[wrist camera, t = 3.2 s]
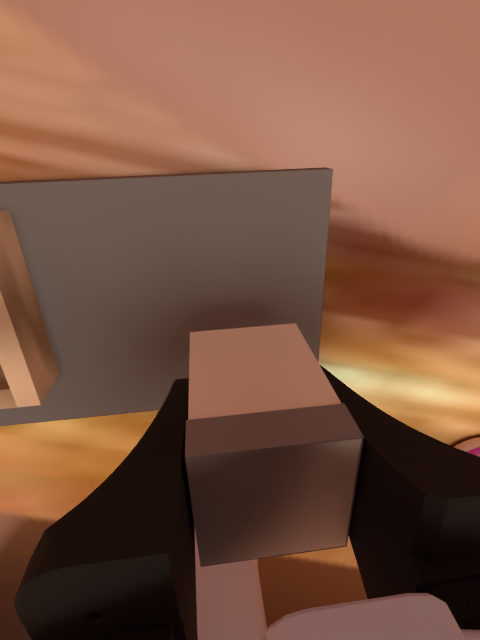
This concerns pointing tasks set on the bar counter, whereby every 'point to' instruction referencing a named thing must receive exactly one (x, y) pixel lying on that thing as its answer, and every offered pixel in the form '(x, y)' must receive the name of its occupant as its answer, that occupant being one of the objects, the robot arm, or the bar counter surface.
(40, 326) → the frame
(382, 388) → the bar counter surface
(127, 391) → the mat
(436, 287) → the bar counter surface
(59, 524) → the robot arm
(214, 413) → the plug
